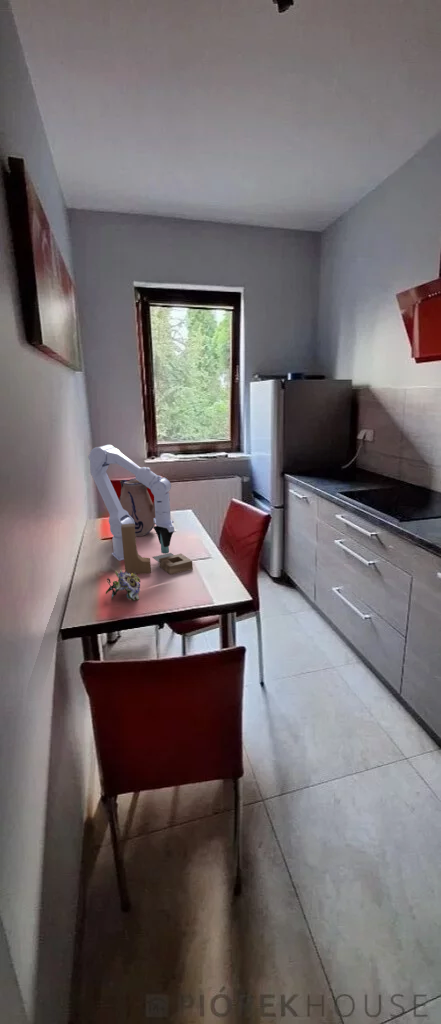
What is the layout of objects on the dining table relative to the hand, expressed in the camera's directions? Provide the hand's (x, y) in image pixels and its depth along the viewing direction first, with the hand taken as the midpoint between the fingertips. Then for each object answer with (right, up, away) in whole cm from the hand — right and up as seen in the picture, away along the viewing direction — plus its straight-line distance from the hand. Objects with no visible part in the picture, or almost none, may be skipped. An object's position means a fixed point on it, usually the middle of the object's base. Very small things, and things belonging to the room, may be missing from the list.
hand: (164, 545), depth 163 cm
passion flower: (-9, -15, -30) cm, 34 cm away
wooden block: (-8, -9, -10) cm, 16 cm away
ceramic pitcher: (-15, +2, +32) cm, 36 cm away
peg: (0, -3, +1) cm, 3 cm away
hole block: (+5, -8, -8) cm, 13 cm away
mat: (0, -5, +2) cm, 6 cm away
